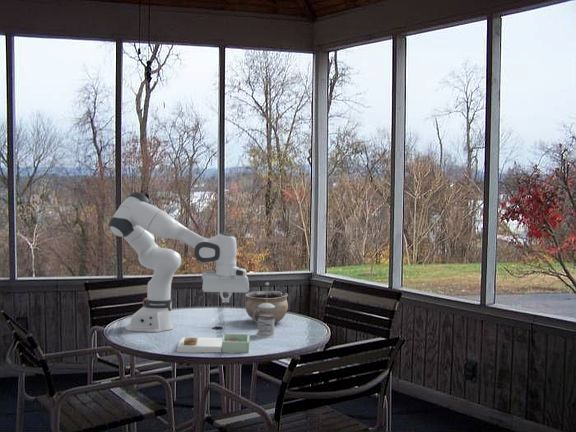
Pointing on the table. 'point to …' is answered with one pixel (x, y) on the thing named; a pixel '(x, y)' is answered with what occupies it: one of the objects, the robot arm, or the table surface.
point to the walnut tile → (233, 340)
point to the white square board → (201, 345)
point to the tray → (236, 343)
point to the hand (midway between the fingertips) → (225, 302)
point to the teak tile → (190, 341)
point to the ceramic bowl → (267, 297)
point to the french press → (265, 321)
